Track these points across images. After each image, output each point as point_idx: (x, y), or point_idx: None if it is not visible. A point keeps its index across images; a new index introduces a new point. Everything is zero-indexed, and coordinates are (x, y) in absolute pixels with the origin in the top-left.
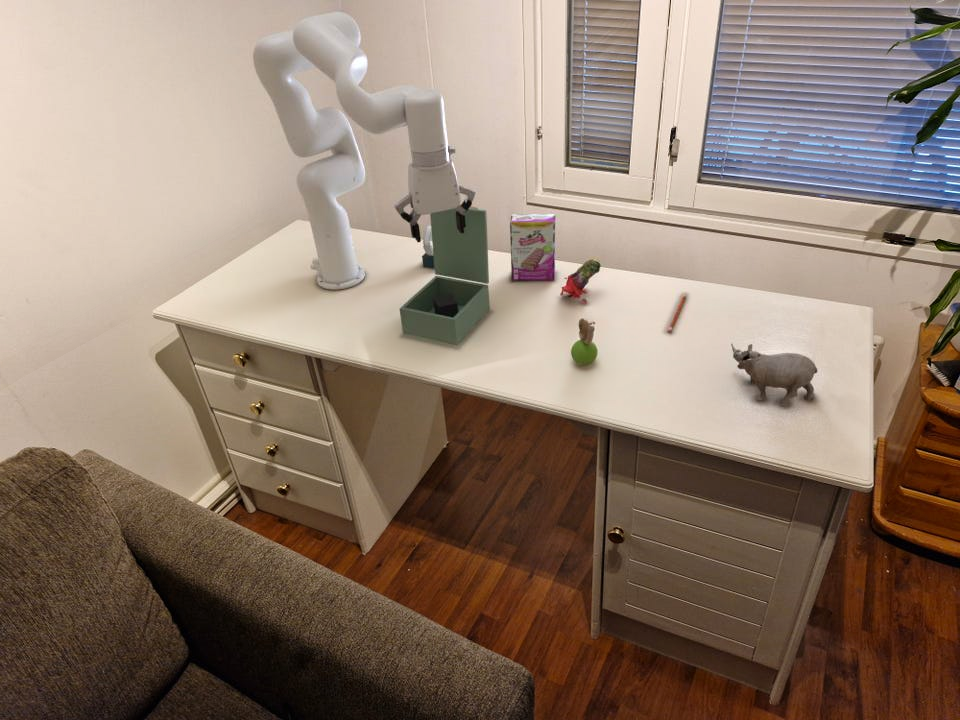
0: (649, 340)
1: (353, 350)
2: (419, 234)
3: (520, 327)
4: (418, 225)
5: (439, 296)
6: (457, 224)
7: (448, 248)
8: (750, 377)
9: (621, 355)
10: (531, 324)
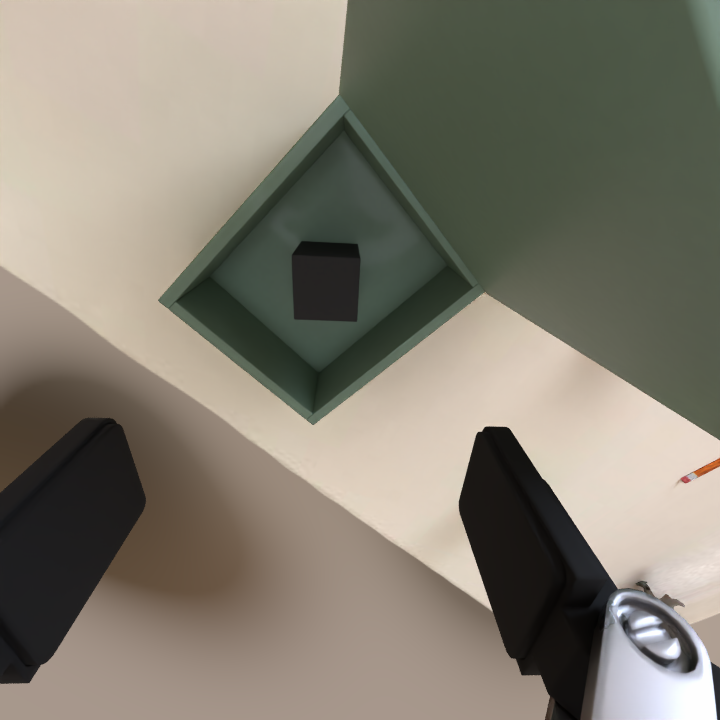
0: (636, 485)
1: (56, 280)
2: (105, 562)
3: (480, 362)
4: (41, 662)
5: (344, 128)
6: (489, 483)
7: (426, 149)
8: (644, 591)
9: (566, 499)
10: (508, 361)
